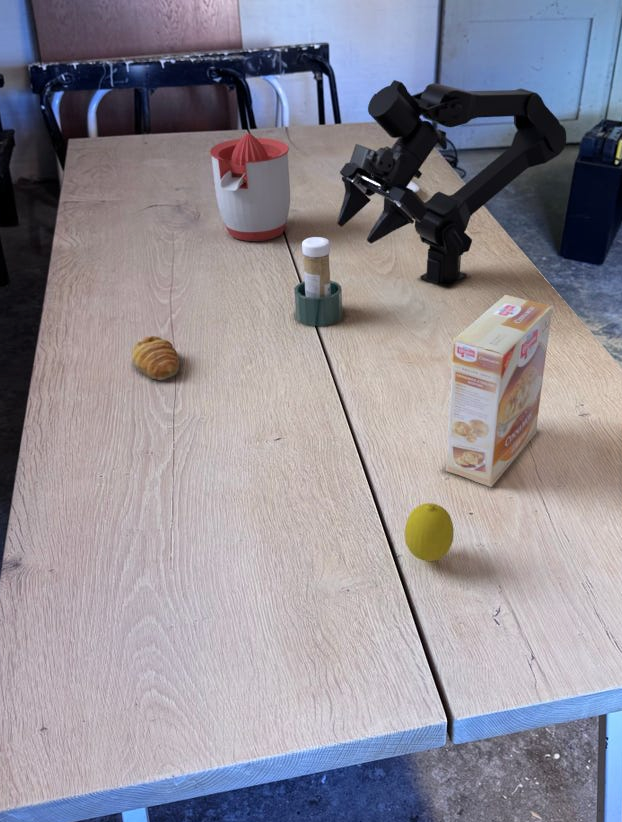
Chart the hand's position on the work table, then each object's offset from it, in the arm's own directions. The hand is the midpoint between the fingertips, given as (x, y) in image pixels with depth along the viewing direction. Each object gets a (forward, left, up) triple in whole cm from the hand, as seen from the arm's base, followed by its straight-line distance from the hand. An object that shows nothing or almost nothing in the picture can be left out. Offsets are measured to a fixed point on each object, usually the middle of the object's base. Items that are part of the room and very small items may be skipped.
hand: (353, 233), depth 147 cm
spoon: (-57, -36, -13) cm, 69 cm away
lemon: (+46, +50, -13) cm, 69 cm away
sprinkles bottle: (+7, -2, -13) cm, 15 cm away
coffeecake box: (+23, +44, -13) cm, 51 cm away
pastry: (+36, -10, -13) cm, 40 cm away
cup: (+7, -2, -13) cm, 15 cm away
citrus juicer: (-13, -38, -13) cm, 42 cm away
